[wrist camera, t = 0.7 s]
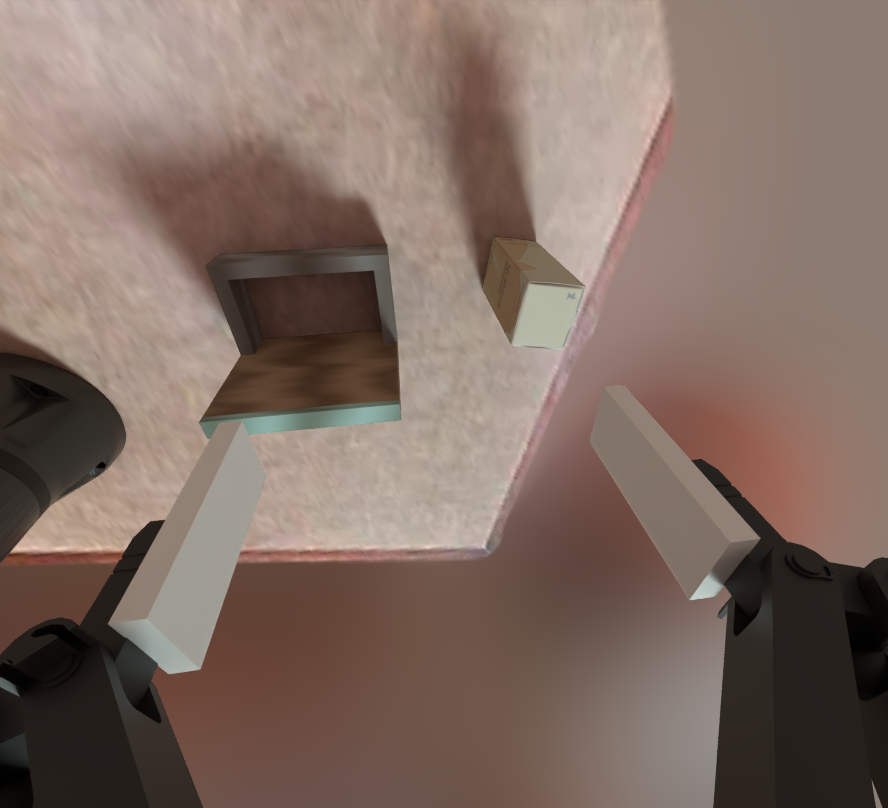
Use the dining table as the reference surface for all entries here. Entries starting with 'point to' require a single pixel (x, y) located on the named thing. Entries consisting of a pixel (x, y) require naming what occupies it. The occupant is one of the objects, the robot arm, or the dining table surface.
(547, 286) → the box
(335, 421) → the cleat board
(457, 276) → the dining table surface
